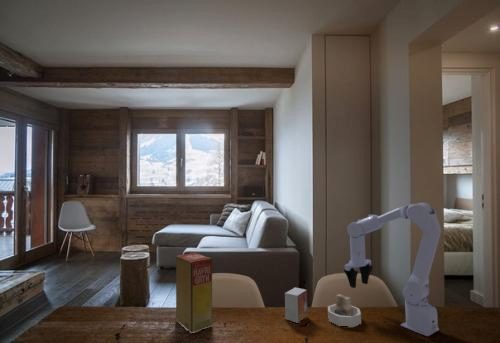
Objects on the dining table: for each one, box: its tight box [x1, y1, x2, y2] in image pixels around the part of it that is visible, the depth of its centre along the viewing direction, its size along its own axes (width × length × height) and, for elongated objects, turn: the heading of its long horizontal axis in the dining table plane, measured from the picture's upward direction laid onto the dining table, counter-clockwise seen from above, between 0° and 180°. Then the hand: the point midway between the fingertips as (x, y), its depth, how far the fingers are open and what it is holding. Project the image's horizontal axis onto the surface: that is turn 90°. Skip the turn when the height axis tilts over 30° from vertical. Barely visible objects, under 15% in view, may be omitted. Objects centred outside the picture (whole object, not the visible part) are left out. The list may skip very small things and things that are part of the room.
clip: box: [335, 309, 353, 316], centre depth 114 cm, size 4×6×3 cm
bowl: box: [327, 303, 362, 328], centre depth 114 cm, size 12×12×4 cm
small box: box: [284, 287, 308, 324], centre depth 115 cm, size 8×6×10 cm
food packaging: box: [175, 252, 213, 332], centre depth 113 cm, size 13×9×25 cm
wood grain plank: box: [335, 293, 352, 316], centre depth 114 cm, size 5×2×8 cm, turn 33°
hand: (358, 285), depth 122 cm, fingers open, 7 cm apart
